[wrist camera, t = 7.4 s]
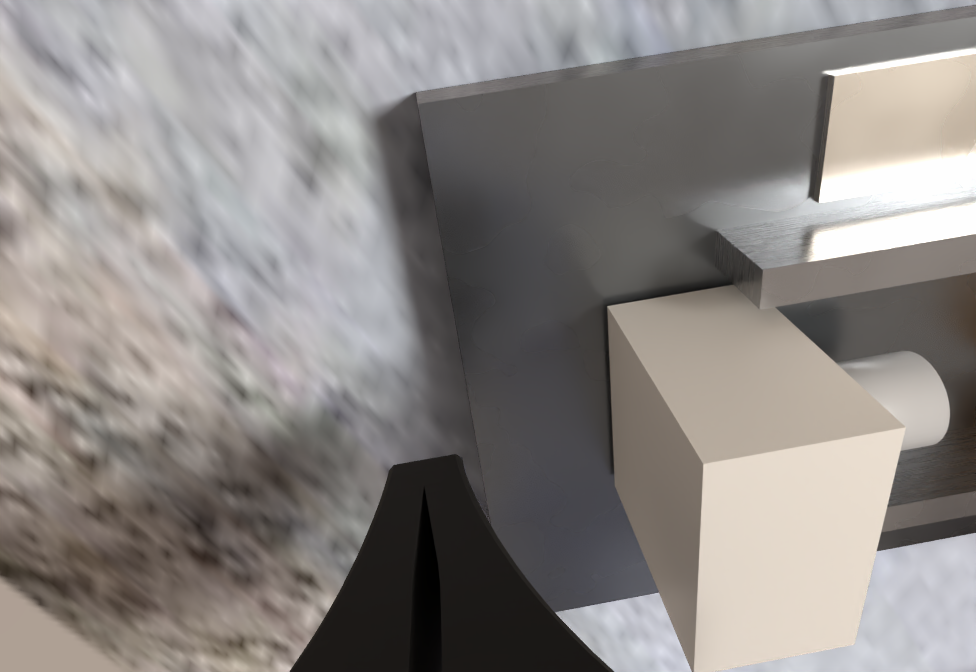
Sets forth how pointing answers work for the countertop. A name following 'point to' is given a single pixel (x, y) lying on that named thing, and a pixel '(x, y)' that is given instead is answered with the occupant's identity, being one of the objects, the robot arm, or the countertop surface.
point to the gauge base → (704, 253)
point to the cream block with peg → (757, 469)
